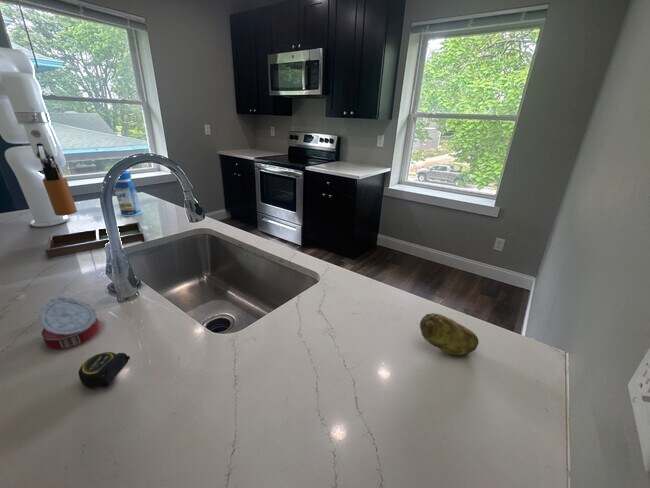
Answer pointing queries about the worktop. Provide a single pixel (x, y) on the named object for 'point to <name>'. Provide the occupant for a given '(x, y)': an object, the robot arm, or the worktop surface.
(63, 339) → the canned food
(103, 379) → the tape measure
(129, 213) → the beverage bottle
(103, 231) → the tray
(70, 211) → the bottle
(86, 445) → the worktop surface
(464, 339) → the potato
